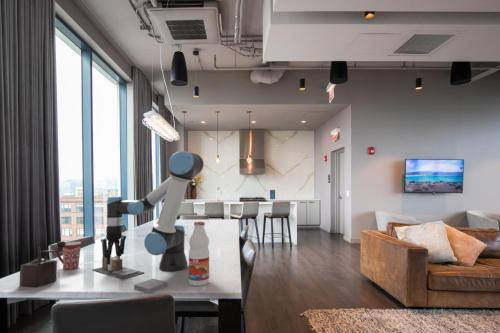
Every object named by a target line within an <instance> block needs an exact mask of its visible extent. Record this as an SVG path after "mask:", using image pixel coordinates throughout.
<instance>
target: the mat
mask: <svg viewBox="0 0 500 333" xmlns="http://www.w3.org/2000/svg"><path fill="white" fill-rule="evenodd" d="M125 268H126V267H125V266H122V269H125ZM127 268H128V267H127ZM128 269H131V270H135V271H138V273H136V274H132V275H129V276H125V277H122V276H119V275H115V274H112V272H114V271H109V270H107V269H104V268H102V266H101V267H97V268H94V269H92V271H93V272H97V273H99V272H100V274H103V275H106V276H109V277H113V278H116V279H119V280H122V281H124V280H126V279H131V278H133V277H137V276H140V275H143V274H145V272H144V271H140V270H136V269H133V268H128Z"/></svg>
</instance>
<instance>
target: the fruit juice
mask: <svg viewBox="0 0 500 333" xmlns="http://www.w3.org/2000/svg"><path fill="white" fill-rule="evenodd" d="M205 224H206V223H205V221H195V222H194V223H193V225H194V229H193V231H192V234H191V236H190V238H189V241H188V243H189V248H190V249H189V251H188V252H189V253H188V283H189V285H190V286H195V287H202V286H206V285H208V284H209V282H210V249H209V244H210V239H209V236H208V235H207V232H206V230H205Z"/></svg>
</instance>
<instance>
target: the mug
mask: <svg viewBox="0 0 500 333" xmlns="http://www.w3.org/2000/svg"><path fill="white" fill-rule="evenodd" d="M65 243H66V245H65V246H64V247H63V251H62V257H61V254H60V252H55V253H56V256H57V258H58V260H59V261H60V262H61V264H62V269H63V270H64V269H66V270H68V271H69V270H70V269H71V270H75V268H76V269H78V268H79V267H80V265H79V264H80V254H81V246H82V242H80V241H69V242H65ZM66 270H65V271H66Z"/></svg>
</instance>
